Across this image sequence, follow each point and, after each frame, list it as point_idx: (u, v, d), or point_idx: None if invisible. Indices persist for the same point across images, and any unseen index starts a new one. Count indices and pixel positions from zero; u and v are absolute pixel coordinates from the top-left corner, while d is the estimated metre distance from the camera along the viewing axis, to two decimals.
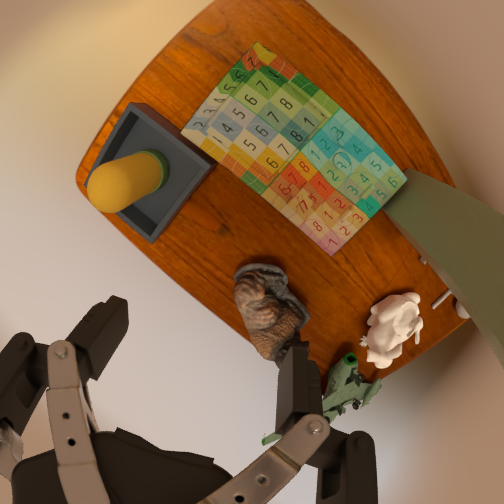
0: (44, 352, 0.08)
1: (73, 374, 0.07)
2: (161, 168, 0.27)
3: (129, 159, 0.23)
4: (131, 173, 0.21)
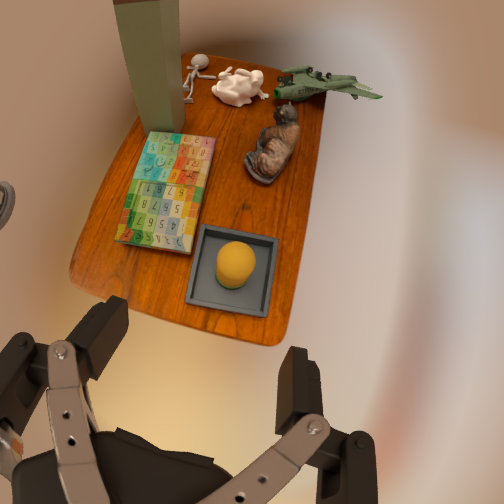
0: (44, 352, 0.08)
1: (73, 374, 0.07)
2: None
3: None
4: None
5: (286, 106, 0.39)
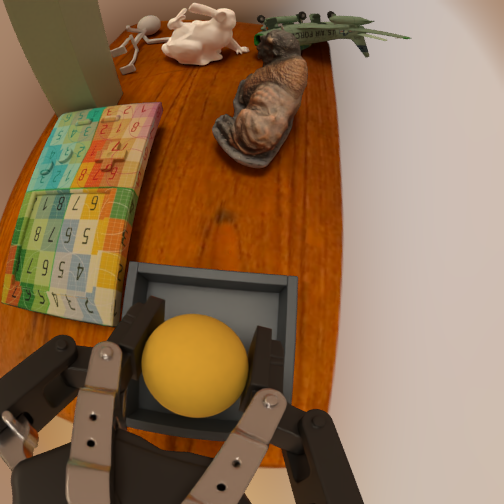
0: (86, 354, 0.09)
1: (113, 378, 0.08)
2: None
3: None
4: None
5: (277, 31, 0.18)
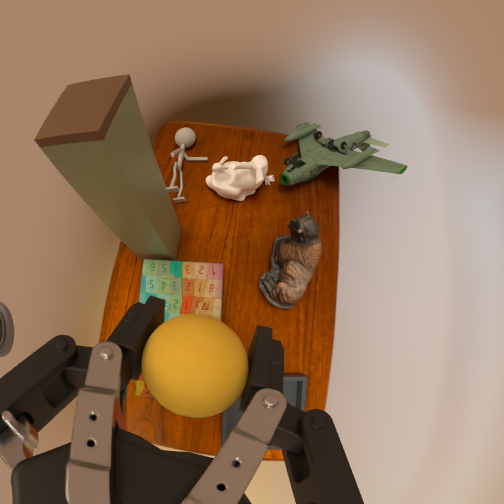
0: (86, 354, 0.09)
1: (113, 378, 0.08)
2: None
3: None
4: None
5: (304, 220, 0.35)
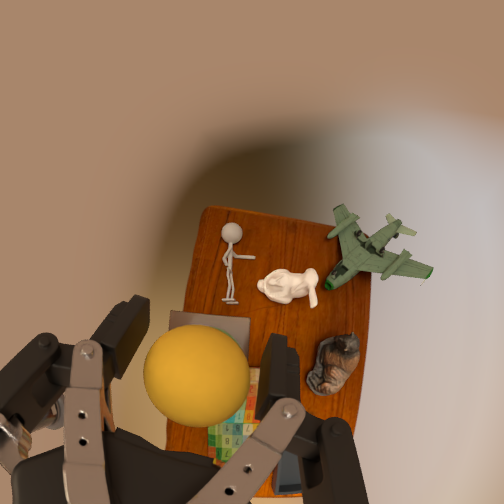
0: (68, 352, 0.08)
1: (96, 375, 0.08)
2: None
3: None
4: None
5: (350, 341, 0.40)
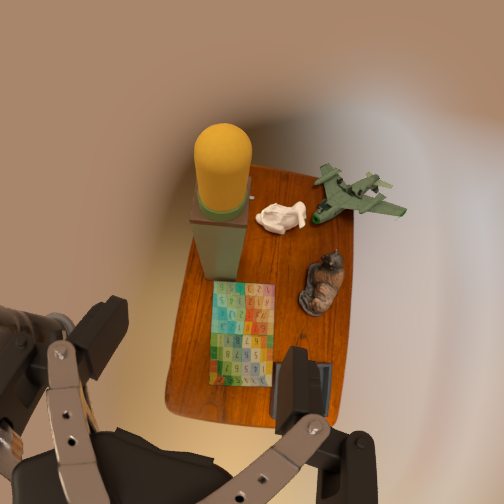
0: (44, 352, 0.08)
1: (73, 374, 0.07)
2: None
3: (196, 172, 0.23)
4: None
5: (334, 256, 0.50)
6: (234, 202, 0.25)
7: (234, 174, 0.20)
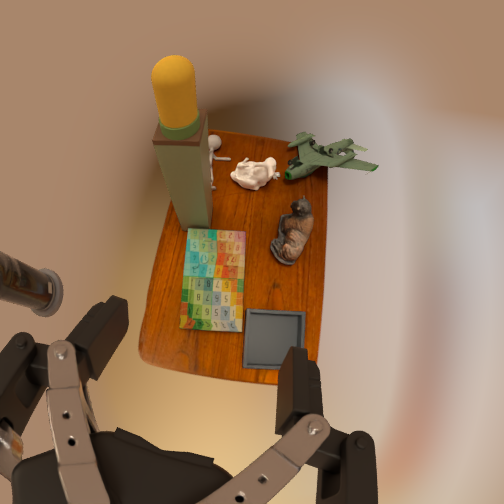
0: (44, 352, 0.08)
1: (73, 374, 0.07)
2: None
3: None
4: None
5: (301, 201, 0.52)
6: (185, 118, 0.28)
7: (178, 87, 0.23)
